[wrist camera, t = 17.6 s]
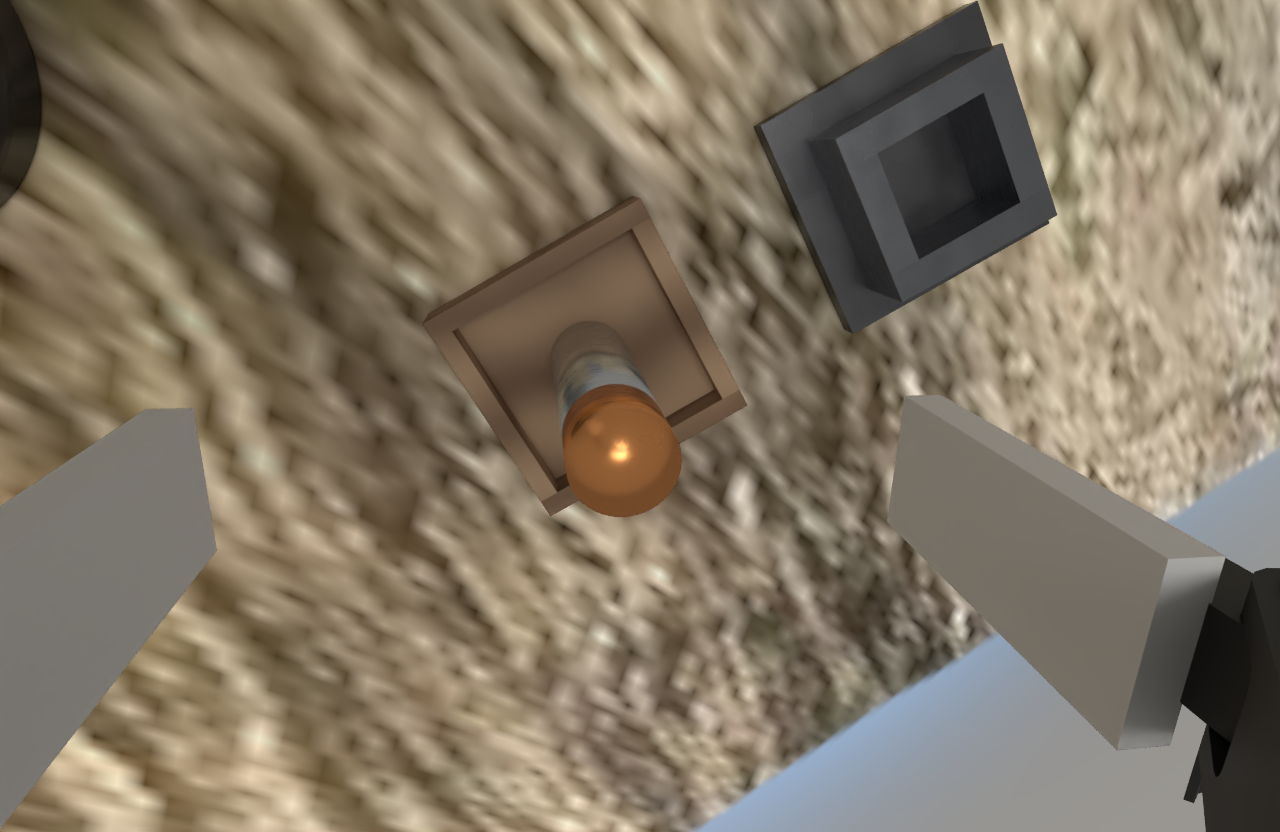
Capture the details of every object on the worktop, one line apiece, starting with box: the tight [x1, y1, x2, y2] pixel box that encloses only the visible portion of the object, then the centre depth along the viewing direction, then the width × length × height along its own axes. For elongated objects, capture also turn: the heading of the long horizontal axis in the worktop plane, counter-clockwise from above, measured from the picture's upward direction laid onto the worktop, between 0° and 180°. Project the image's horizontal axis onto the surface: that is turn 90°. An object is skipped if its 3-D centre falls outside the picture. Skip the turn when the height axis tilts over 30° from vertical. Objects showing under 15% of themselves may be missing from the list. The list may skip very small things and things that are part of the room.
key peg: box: [551, 321, 681, 517], centre depth 33 cm, size 4×4×15 cm
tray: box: [423, 196, 747, 516], centre depth 40 cm, size 12×12×3 cm
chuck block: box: [754, 1, 1057, 334], centre depth 38 cm, size 12×12×5 cm
